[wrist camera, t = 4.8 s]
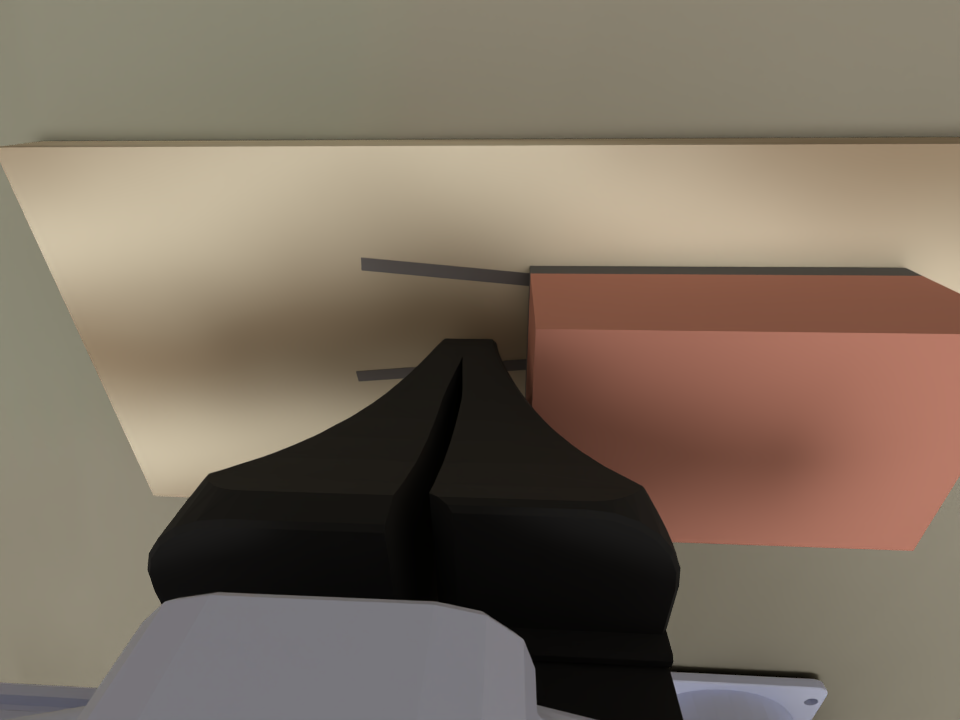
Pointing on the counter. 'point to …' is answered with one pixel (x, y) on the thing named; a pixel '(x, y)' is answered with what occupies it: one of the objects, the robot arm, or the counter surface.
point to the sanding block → (757, 395)
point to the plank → (414, 255)
